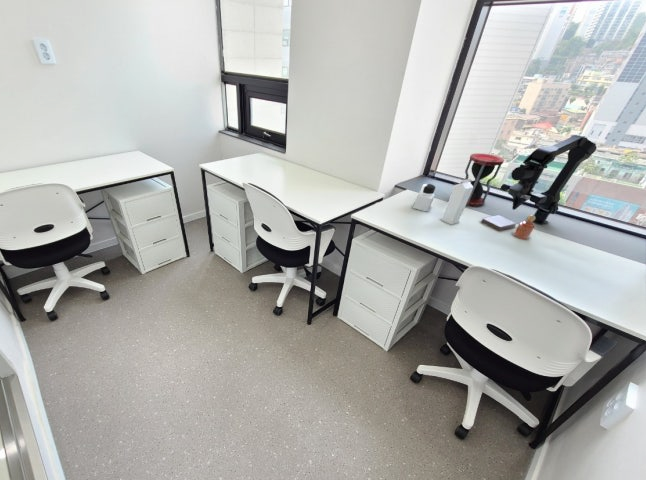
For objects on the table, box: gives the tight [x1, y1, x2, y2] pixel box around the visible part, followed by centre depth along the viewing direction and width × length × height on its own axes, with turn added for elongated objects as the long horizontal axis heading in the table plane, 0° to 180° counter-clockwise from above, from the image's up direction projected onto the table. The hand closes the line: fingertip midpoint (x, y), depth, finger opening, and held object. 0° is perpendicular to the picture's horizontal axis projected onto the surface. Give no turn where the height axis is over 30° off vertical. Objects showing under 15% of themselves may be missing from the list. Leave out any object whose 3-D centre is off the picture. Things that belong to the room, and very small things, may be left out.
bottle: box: [513, 214, 535, 240], centre depth 148 cm, size 11×6×8 cm
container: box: [412, 183, 436, 212], centre depth 169 cm, size 8×8×13 cm
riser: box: [480, 214, 517, 232], centre depth 158 cm, size 12×10×2 cm
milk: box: [441, 178, 473, 225], centre depth 154 cm, size 6×6×22 cm
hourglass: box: [459, 153, 505, 207], centre depth 175 cm, size 16×16×25 cm
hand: (513, 209), depth 151 cm, fingers closed
